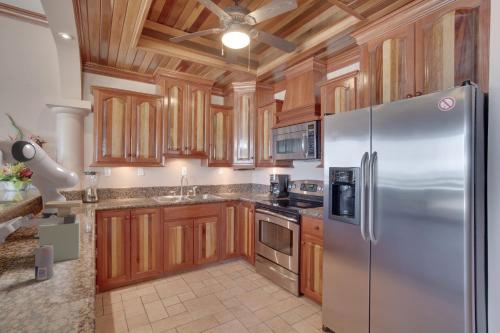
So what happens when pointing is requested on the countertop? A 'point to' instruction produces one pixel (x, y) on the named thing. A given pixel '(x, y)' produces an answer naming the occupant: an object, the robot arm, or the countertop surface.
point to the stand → (63, 208)
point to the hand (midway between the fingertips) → (30, 216)
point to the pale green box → (62, 240)
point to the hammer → (51, 220)
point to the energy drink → (43, 262)
